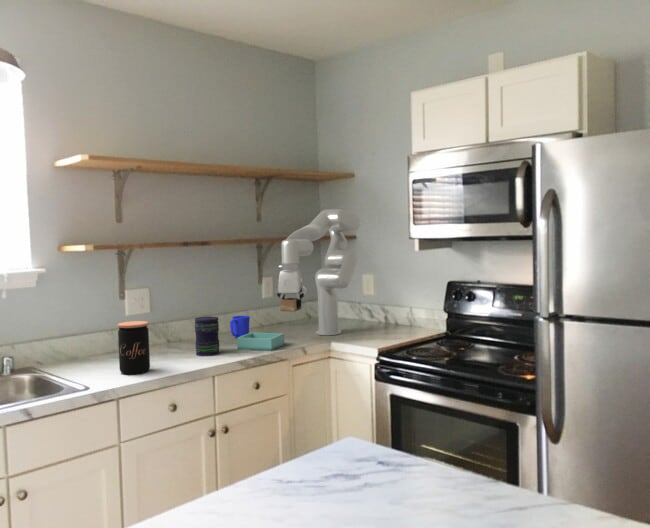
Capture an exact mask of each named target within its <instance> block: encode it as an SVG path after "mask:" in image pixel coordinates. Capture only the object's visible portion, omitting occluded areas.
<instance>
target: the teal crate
mask: <svg viewBox="0 0 650 528" xmlns="http://www.w3.org/2000/svg"><path fill="white" fill-rule="evenodd" d="M285 345H286V344H285V333H283V332H282V333H279V332H278V333H277V332H249V334H246V335H243V336H241V337H238V338H236V347H237V350H244V351H263V352H264V351H265V352H266V351H267V352H272V351H275V350H277V349H279V348H280V347H282V346H285Z"/></svg>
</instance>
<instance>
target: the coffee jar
mask: <svg viewBox="0 0 650 528" xmlns="http://www.w3.org/2000/svg"><path fill="white" fill-rule="evenodd" d="M148 325H149V322H148V321H146V320H145V321H144V320H132V321H124V322H120V323H117V327H118V331H117V338H118V339H117V340H118V361H119V371H120V372H121V374H122V375H128V376H131V375H133V376H134V375H141V374H145V373H148V372H149V370H150V369H151V360H150V359H151V358H150V356H151V355H150V354H151V353H150V337H149V327H148Z"/></svg>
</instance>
